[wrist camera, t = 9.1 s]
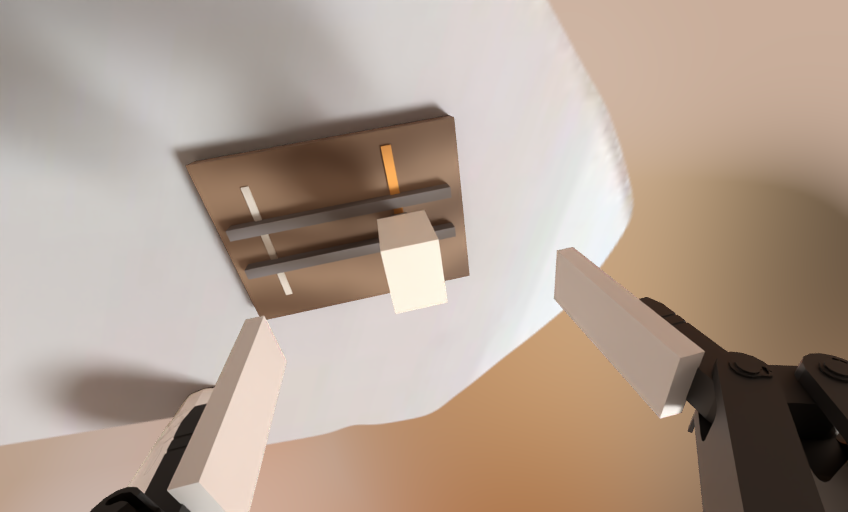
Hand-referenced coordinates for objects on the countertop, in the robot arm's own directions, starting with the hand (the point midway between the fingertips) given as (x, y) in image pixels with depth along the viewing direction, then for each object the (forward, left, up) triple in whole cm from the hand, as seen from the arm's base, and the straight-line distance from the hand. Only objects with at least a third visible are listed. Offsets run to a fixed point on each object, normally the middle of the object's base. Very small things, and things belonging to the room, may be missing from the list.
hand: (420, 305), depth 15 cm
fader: (0, 0, -11) cm, 11 cm away
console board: (0, -4, -13) cm, 14 cm away
